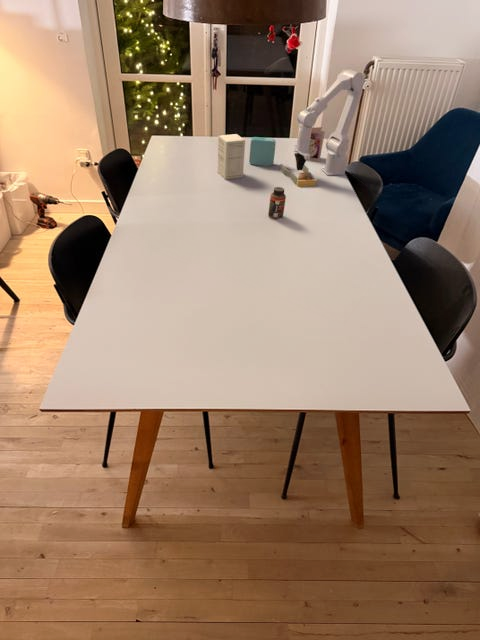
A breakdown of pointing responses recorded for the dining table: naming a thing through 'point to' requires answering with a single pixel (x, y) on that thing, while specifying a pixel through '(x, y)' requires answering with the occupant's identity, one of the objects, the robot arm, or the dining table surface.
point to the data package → (262, 151)
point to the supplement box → (231, 156)
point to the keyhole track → (298, 182)
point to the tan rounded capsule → (304, 176)
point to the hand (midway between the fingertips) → (299, 169)
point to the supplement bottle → (277, 203)
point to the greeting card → (316, 144)
